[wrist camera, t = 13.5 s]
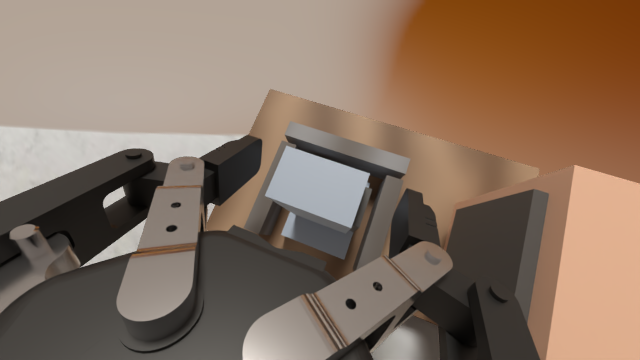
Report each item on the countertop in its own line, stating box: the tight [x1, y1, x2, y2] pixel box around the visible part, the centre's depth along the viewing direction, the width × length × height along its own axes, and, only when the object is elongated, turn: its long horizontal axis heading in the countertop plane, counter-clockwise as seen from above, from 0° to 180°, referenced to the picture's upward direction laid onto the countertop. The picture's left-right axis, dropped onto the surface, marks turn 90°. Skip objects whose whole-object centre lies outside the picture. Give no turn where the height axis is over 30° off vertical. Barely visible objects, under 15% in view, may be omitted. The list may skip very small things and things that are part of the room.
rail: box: [207, 90, 539, 326], centre depth 19 cm, size 24×14×4 cm, turn 69°
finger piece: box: [265, 146, 372, 260], centre depth 15 cm, size 5×6×10 cm
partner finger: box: [443, 165, 640, 360], centre depth 13 cm, size 6×8×10 cm
